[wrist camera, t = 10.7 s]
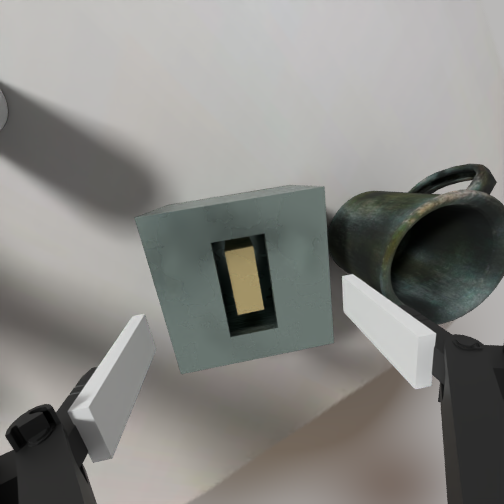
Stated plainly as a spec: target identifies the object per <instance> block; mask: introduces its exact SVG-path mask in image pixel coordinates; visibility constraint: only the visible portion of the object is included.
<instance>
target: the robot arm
mask: <svg viewBox="0 0 504 504" xmlns="http://www.w3.org/2000/svg"><path fill="white" fill-rule="evenodd" d="M342 288H343V311H344V313H345V314H346V315H347V316H348V317H349V318H350V319H351V320H352V322H353V323H354V324H355V325H356V326H357V327H358V328H359V329H360V330H361V331H362V332H363V333H364V335H365V336H366V337H367V338H368V339H369V340H370V341H371V342H372V343H373V344H374V345H375V346H376V348H377V349H378V350H379V351H380V352H381V353H382V354H383V355H384V356H385V357H386V358H387V359H388V361H389V362H390V363H391V364H392V365H393V366H394V367H395V368H396V369H397V370H398V371H399V372H400V374H401V375H402V376H403V377H404V378H405V379H406V380H407V381H408V382H409V383H410V384H411V385H412V387H414V389H420V388H424V387H429V386H431V385H432V375H433V376H434V377H436V378H437V379H438V380H439V381H440V389H439V398H438V402H441V415H442V430H443V444H444V457H445V472H446V485H447V500H448V504H504V345H503V346H494V345H483V344H482V343H481V342H479V341H478V340H476V339H473V338H471V337H468V336H464V335H457V334H455V335H452V334H450V333H449V332H447V331H446V330H444V329H443V328H441V327H440V326H438V325H437V324H435V323H434V322H432V321H431V320H428V318H426V317H425V316H423V315H421V314H420V313H419V312H417V311H416V310H414V309H413V308H410V307H407V306H405V305H398V306H397V305H396V304H394V303H393V302H391V301H390V300H389V299H387V298H386V297H384V296H383V295H381V294H380V293H379V292H377V291H376V290H374V289H373V288H372V287H370V286H369V285H367V284H366V283H365V282H363V281H362V280H360V279H359V278H358V277H356V276H355V275H353V274H351V275H345V276H342ZM155 352H156V347H155V344H154V341H153V338H152V334H151V331H150V328H149V325H148V322H147V319H146V316H145V314H141V315H136V316H132V318H131V319H130V321H129V322H128V324H127V325H126V327H125V328H124V329H123V331H122V332H121V334H120V335H119V337H118V338H117V340H116V341H115V343H114V344H113V346H112V347H111V349H110V350H109V351H108V353H107V354H106V356H105V357H104V359H103V360H102V362H101V363H100V365H99V366H98V367H95V368H92V369H91V370H89V371H88V372H87V373H86V374H85V375H84V376H83V377H82V378H81V379H80V381H79V382H78V383H77V385H76V387H75V388H74V389H73V390H72V391H71V393H70V395H69V396H68V397H67V398H66V400H65V401H64V402H63V404H62V405H61V407H60V408H59V409H58V411H57V412H55V411H54V409H53V407H52V406H51V405H50V404H44V405H40V406H37V407H35V408H33V409H31V410H29V411H27V412H26V413H24V414H23V415H21V416H20V417H19V418H18V419H17V420H15V421H14V422H13V423H12V424H11V426H10V427H9V428H8V429H7V432H6V435H5V436H6V438H7V440H8V441H9V443H10V444H11V446H12V448H13V449H14V450H12V451H10V452H8V453H6V454H3V455H1V456H0V504H97V503H96V500H95V497H94V494H93V491H92V488H91V485H90V482H89V479H88V476H87V473H86V470H85V468H84V466H83V464H82V463H83V461H84V459H85V457H86V455H87V453H88V454H89V456H90V458H91V460H92V462H93V463H94V462H98V461H103V460H107V459H112V458H113V455H114V453H115V451H116V448H117V446H118V443H119V441H120V438H121V436H122V433H123V431H124V428H125V426H126V423H127V421H128V418H129V416H130V413H131V411H132V408H133V406H134V404H135V401H136V399H137V396H138V394H139V391H140V389H141V386H142V384H143V381H144V379H145V376H146V374H147V371H148V369H149V366H150V364H151V361H152V359H153V357H154V354H155Z"/></svg>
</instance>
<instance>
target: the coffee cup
mask: <svg viewBox="0 0 504 504" xmlns="http://www.w3.org/2000/svg"><path fill="white" fill-rule="evenodd" d="M7 117H8V108H7V102H6V99H5V97H4V95H3V93H2V91H1V89H0V130H1V129H2V128H3V127H4V125H5V123H6V120H7Z"/></svg>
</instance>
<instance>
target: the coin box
mask: <svg viewBox="0 0 504 504" xmlns="http://www.w3.org/2000/svg"><path fill="white" fill-rule="evenodd" d="M135 221H136V224H137V228H138V231H139V234H140V238H141V241H142V245H143V248H144V251H145V255H146V258H147V261H148V265H149V268H150V271H151V275H152V278H153V281H154V285H155V288H156V292H157V295H158V298H159V302H160V305H161V308H162V312H163V315H164V318H165V322H166V325H167V328H168V332H169V335H170V339H171V342H172V345H173V349H174V352H175V355H176V359H177V362H178V365H179V369H180V372H181V374H185V373H190V372H195V371H200V370H204V369H209V368H214V367H219V366H224V365H229V364H234V363H239V362H244V361H248V360H253V359H258V358H263V357H268V356H273V355H278V354H283V353H288V352H293V351H297V350H302V349H307V348H312V347H317V346H322V345H327V344H332V343H334V336H333V320H332V304H331V287H330V271H329V255H328V239H327V222H326V206H325V190H324V187H323V186H298V185H288V186H282V187H276V188H270V189H263V190H257V191H251V192H245V193H239V194H233V195H227V196H220V197H214V198H208V199H202V200H196V201H190V202H184V203H177V204H171V205H166V206H164V207H161V208H159V209H156V210H153V211H151V212H148V213H146V214H143V215H140V216H138V217H135ZM247 236H249V238H250V240H251V243H252V245H253V248H254V254H255V260H256V266H257V271H258V277H259V283H260V289H261V294H262V300H263V306H264V310H259V311H254V312H250V313H245V314H240V315H238V313H237V308H236V303H235V299H234V294H233V289H232V285H231V280H230V275H229V270H228V266H227V261H226V256H225V240H230V239H235V238H241V237H247Z"/></svg>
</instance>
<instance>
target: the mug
mask: <svg viewBox="0 0 504 504" xmlns="http://www.w3.org/2000/svg"><path fill="white" fill-rule="evenodd" d="M469 180H472V182H471V184H470V185H469V186H468V188H467V189H466V190H458V191H452V192H448V193H445V194H442V195H440V194H432V193H434V192H435V191H437V190H438V189H441V188H443V187H445V186H448V185H451V184H455V183H458V182H463V181H469ZM496 183H497V182H496V180H495V179H494V177H493V175H492V174H491V172H490V170H489V169H488V168H486V167H485V166H484V165H480V164H466V165H460V166H455V167H451V168H448V169H445V170H442V171H439V172H436V173H434V174H432V175H430V176H428V177H426V178H425V179H423V180H422V181H421V182H419V183H418V184H417V185H416V186H415V187H413V188H412V189H411V190H410V191H409V192H408V193H403V192H385V191H369V192H365V193H361V194H359V195H357V196H355V197H353V198H351V199H350V200H348V201H347V202H346V203H345V204H344V205H343V206H342V207H341V208H340V209H339V210H338V212H337V213H336V215H335V216H334V218H333V220H332V222H331V225H330V228H329V233H328V247H329V251H330V254H331V256H332V258H333V260H334V261H335V262H336V264H337V265H339V266H340V267H341V268H342V269H344V270H345V271H346V272H348V273H349V274H353V275H355V276H356V277H358V278H359V279H360V280H362V281H363V282H365V283H366V284H367V285H369V286H370V287H372V288H373V289H374V290H376V291H377V292H379V293H380V294H381V295H383V296H384V297H386V298H387V299H389V300H390V301H391V302H393V303H394V304H396V305H397V306H398V305H405V306H407V307H410V308H413V309H414V310H416V311H417V312H419V313H420V314H421V315H423V316H425V317H426V318H428V320H431V321H432V322H434V323H435V324H443V323H446V322H449V321H453V320H455V319H457V318H459V317H462V316H463V315H465V314H467V313H468V312H470V311H472V310H473V309H474V308H476V307H477V306H478V305H480V304H481V303H482V302H483V301H484V300H485V299H486V298H487V297H488V296H489V295H490V294H491V293H492V291H493V290H494V289H495V288H496V287H497V285H498V284H499V282H500V281H501V279H502V278H503V276H504V205H503V204H502V203H501V202H500V201H499V200H497V199H496V198H495V197H493V196H491V195H490V193H491V191H492V190H493V188H494V186H495V184H496Z"/></svg>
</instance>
